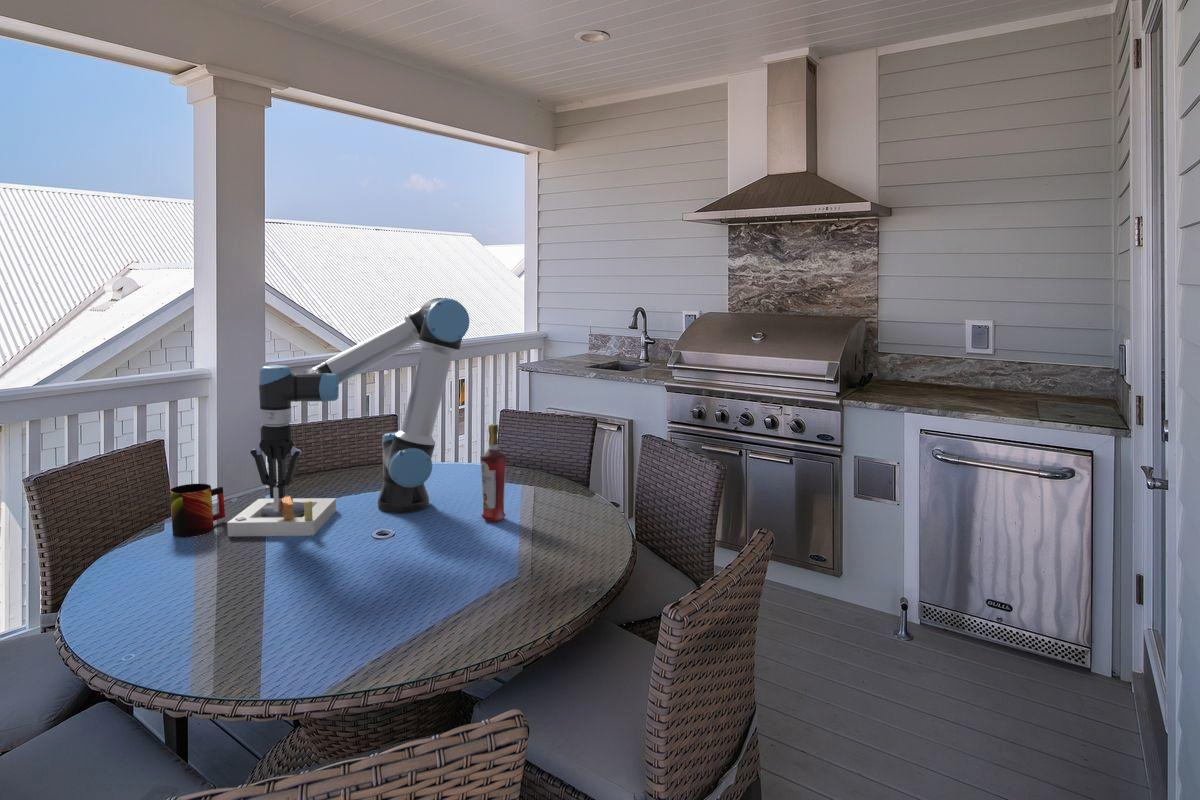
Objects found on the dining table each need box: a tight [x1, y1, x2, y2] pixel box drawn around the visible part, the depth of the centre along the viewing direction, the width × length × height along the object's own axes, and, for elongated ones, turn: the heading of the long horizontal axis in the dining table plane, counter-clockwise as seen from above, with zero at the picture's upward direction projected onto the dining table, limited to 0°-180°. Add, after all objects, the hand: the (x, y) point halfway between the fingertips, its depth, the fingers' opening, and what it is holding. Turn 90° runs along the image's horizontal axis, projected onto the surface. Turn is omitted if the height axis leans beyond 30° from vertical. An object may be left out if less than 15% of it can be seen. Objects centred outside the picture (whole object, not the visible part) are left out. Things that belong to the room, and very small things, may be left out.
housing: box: [226, 497, 337, 537], centre depth 201 cm, size 22×22×9 cm
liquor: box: [480, 423, 507, 523], centre depth 205 cm, size 7×7×28 cm
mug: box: [169, 483, 226, 539], centre depth 194 cm, size 10×14×12 cm
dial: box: [261, 494, 304, 520], centre depth 198 cm, size 17×12×6 cm
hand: (278, 509), depth 193 cm, fingers closed
